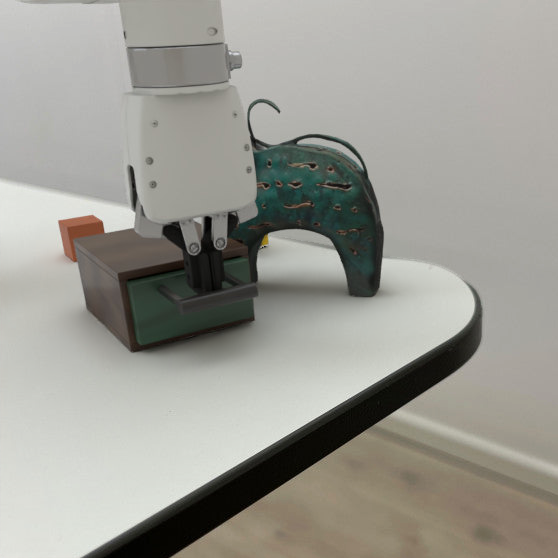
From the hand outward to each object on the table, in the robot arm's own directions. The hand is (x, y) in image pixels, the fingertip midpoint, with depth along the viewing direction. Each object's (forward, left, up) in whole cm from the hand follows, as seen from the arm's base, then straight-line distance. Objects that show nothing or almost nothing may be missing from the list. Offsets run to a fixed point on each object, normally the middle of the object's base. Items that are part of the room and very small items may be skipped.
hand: (207, 292), depth 67 cm
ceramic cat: (+14, +10, -6) cm, 19 cm away
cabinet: (0, +12, -6) cm, 13 cm away
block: (-1, +40, -6) cm, 40 cm away
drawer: (0, +7, -5) cm, 8 cm away
